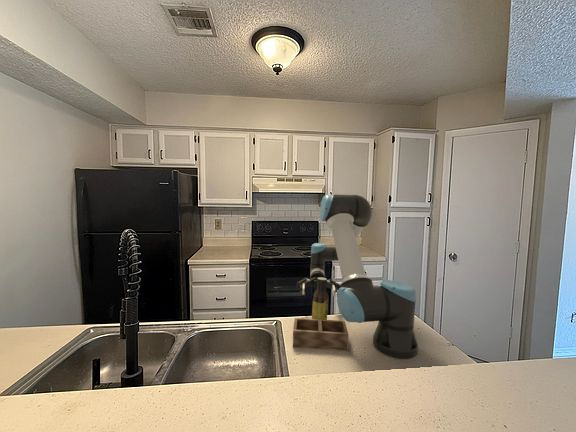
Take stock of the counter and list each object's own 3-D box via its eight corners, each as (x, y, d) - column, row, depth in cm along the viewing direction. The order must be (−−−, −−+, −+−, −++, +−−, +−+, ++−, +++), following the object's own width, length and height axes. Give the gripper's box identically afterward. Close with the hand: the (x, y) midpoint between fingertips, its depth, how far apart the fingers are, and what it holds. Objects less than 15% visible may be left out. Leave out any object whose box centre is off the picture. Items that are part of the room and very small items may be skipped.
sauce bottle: (327, 330, 110) (331, 281, 109) (312, 329, 109) (315, 280, 108) (324, 323, 116) (328, 276, 115) (310, 322, 116) (313, 275, 115)
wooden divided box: (344, 335, 106) (344, 320, 106) (347, 350, 96) (348, 334, 96) (294, 332, 108) (294, 317, 107) (292, 347, 98) (293, 330, 97)
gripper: (341, 285, 142) (347, 302, 120) (293, 283, 144) (290, 299, 122) (342, 271, 141) (347, 285, 120) (293, 269, 143) (290, 282, 122)
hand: (318, 292), depth 121 cm, fingers open, 13 cm apart
